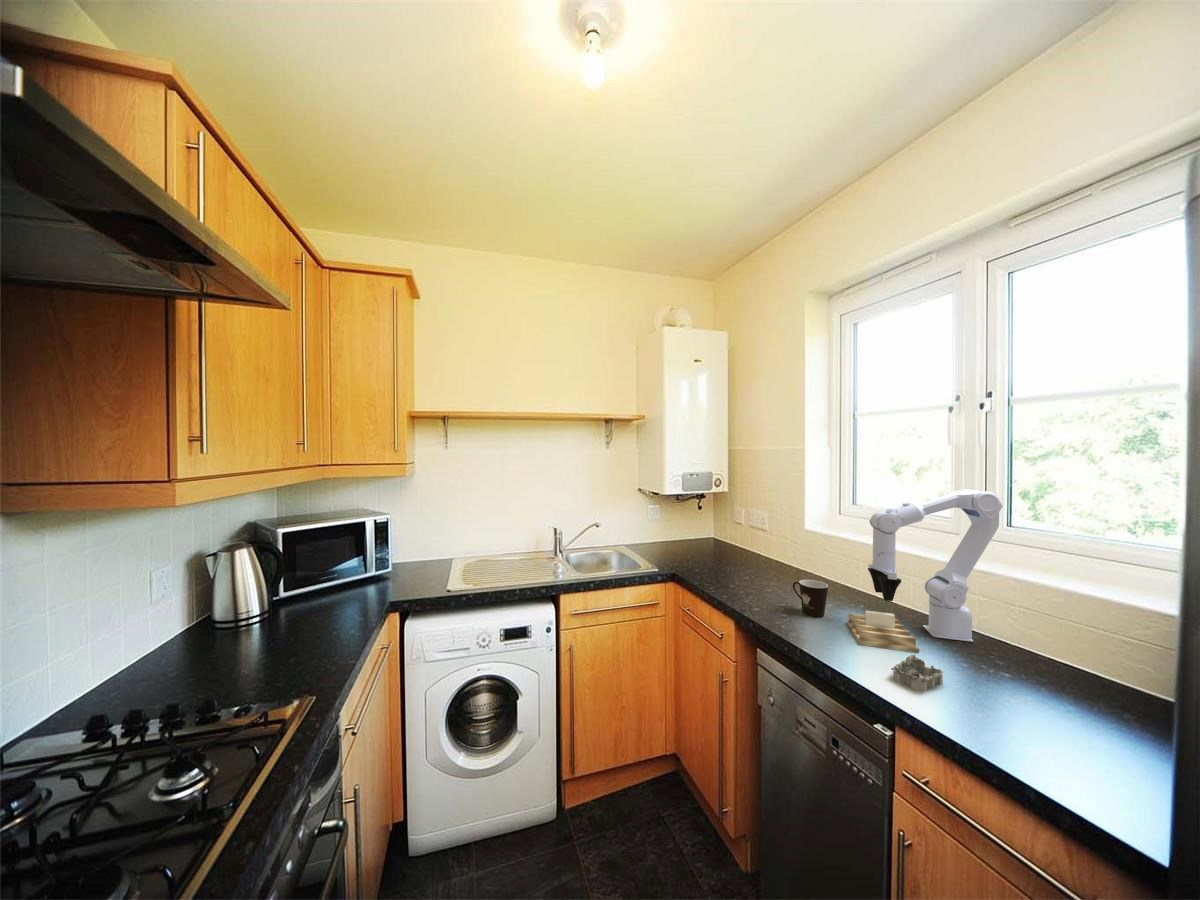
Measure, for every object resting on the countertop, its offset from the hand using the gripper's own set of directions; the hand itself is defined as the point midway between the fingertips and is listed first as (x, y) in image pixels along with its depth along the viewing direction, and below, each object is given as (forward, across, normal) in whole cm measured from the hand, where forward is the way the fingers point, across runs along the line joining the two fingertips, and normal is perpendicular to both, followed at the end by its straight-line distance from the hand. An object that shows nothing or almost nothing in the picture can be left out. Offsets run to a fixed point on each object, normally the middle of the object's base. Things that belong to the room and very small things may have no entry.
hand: (883, 596), depth 128 cm
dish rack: (+10, +7, -3) cm, 13 cm away
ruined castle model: (+10, +31, -2) cm, 33 cm away
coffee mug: (+10, -7, -19) cm, 22 cm away
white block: (+9, +7, -3) cm, 12 cm away
